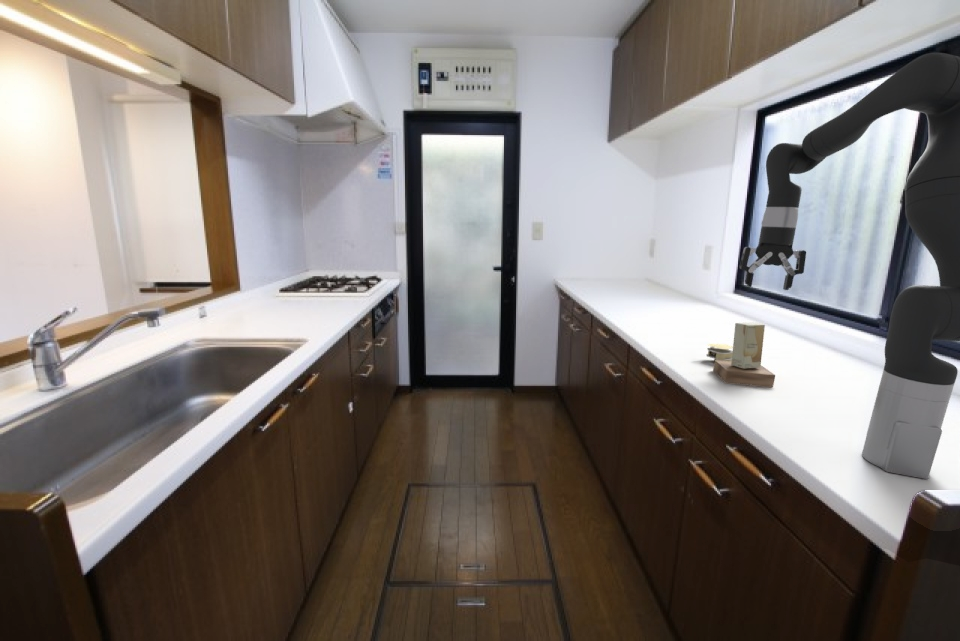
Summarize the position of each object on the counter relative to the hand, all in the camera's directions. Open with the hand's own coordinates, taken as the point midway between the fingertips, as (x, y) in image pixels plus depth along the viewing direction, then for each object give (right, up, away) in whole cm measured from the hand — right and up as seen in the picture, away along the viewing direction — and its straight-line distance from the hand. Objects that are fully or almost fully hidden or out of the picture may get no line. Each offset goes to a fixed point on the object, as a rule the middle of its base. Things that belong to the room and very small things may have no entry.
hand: (767, 288), depth 120 cm
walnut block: (-3, -26, +8) cm, 27 cm away
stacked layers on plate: (-1, -22, +22) cm, 31 cm away
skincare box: (-2, -22, +7) cm, 23 cm away
